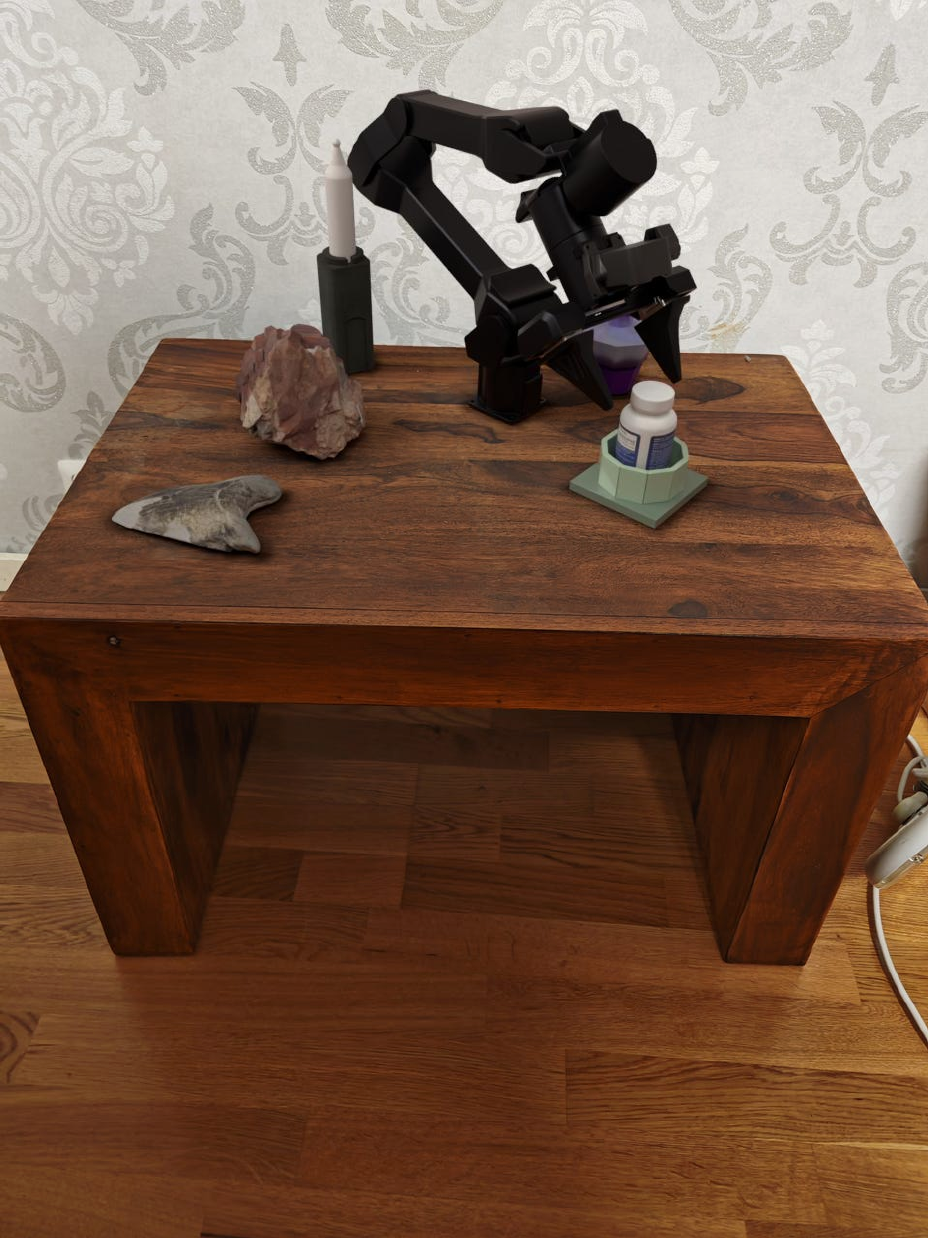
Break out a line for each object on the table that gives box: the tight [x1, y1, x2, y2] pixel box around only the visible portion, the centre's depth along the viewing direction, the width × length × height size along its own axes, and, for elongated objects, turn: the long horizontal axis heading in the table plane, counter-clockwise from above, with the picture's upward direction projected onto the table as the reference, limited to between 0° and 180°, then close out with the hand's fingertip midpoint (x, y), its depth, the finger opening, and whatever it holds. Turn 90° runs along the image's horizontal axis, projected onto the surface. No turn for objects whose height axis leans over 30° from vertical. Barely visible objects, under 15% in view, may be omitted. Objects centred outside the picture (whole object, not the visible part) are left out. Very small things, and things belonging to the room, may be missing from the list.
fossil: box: [111, 474, 283, 554], centre depth 90 cm, size 11×5×15 cm
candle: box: [316, 137, 376, 376], centre depth 107 cm, size 5×5×25 cm
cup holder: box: [568, 428, 709, 530], centre depth 96 cm, size 10×10×4 cm
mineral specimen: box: [235, 323, 367, 461], centre depth 100 cm, size 12×13×15 cm
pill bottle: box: [615, 380, 678, 470], centre depth 93 cm, size 5×5×10 cm
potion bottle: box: [583, 286, 650, 398], centre depth 109 cm, size 9×9×12 cm
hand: (644, 395), depth 91 cm, fingers open, 9 cm apart
